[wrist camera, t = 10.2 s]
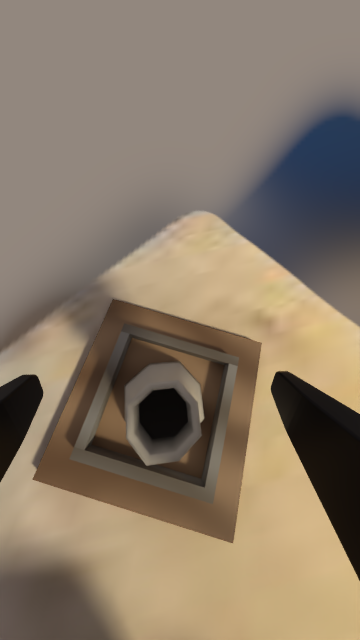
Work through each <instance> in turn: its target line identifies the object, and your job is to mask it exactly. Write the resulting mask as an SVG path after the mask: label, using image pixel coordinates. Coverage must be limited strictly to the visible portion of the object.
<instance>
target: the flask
mask: <svg viewBox="0 0 360 640" xmlns="http://www.w3.org/2000/svg"><path fill="white" fill-rule="evenodd" d="M204 419H205V417H204V409H203V401H202V393H201V384H200V383H199V382H198V381H197V380H196V379H195V378H194V376H193V375H192V374H191V373H190V372H189V371H188V370H187V369H186V368H185V366H184V365H183V364H182V363H181V362H180V361H172V362H161V363H150V364H148V365H147V366H146V367H145V368H144V369H142V370H141V371H140V372H139V373H138V374H137V375H136V376H134V377H133V378H132V379H131V380H130V381H129V382H128V383H126V384H125V385H124V421H125V422H126V439H127V440H128V442H129V443H130V444H131V446H132V447H133V449H134V450H135V451H136V453H137V454H138V455H139V457H140V458H141V459H142V461H143V462H144V463H145V465H146V466H148V465H155V464H162V463H169V462H176V461H180V459H181V458H182V457H183V456H184V455H185V454H186V453H187V452H188V451H189V449H190V448H191V447H192V446H193V445H194V444H195V443H196V442H197V441H198V439H199V438H200V437H201V436H202V434H201V425H200V423H201V422H202V421H203V420H204Z"/></svg>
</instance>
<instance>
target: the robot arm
mask: <svg viewBox="0 0 360 640" xmlns="http://www.w3.org/2000/svg"><path fill="white" fill-rule="evenodd" d="M271 392H272V395H273V398H274V401H275V403H276V406H277V409H278V411H279V414H280V416H281V419H282V422H283V424H284V427H285V429H286V432H287V434H288V436H289V438H290V440H291V442H292V444H293V446H294V448H295V450H296V452H297V454H298V456H299V458H300V460H301V462H302V464H303V466H304V469H305V471H306V473H307V475H308V477H309V479H310V481H311V483H312V485H313V487H314V489H315V491H316V493H317V495H318V497H319V499H320V501H321V503H322V505H323V507H324V509H325V511H326V513H327V515H328V517H329V519H330V521H331V524H332V526H333V528H334V530H335V532H336V534H337V536H338V538H339V540H340V542H341V544H342V546H343V548H344V550H345V552H346V554H347V556H348V558H349V560H350V562H351V564H352V566H353V568H354V570H355V572H356V574H357V576H358V578H359V581H360V414H359V413H357V412H355V411H354V410H352V409H350V408H349V407H347V406H345V405H344V404H342V403H340V402H339V401H337V400H335V399H334V398H332V397H330V396H329V395H327V394H325V393H323V392H322V391H320V390H318V389H317V388H315V387H313V386H312V385H310V384H308V383H307V382H305V381H303V380H302V379H300V378H298V377H297V376H295V375H293V374H291V373H290V372H288V371H278V372H276V374H275V376H274V379H273V382H272V385H271ZM42 397H43V389H42V387H41V384H40V381H39V379H38V377H37V376H36V375H22V376H20V377H18V378H16V379H14V380H12V381H10V382H9V383H7V384H5V385H3V386H1V387H0V482H1V480H2V478H3V477H4V475H5V473H6V471H7V469H8V468H9V466H10V464H11V462H12V460H13V459H14V457H15V455H16V453H17V451H18V450H19V448H20V446H21V444H22V442H23V440H24V438H25V436H26V434H27V432H28V429H29V427H30V425H31V423H32V420H33V418H34V416H35V413H36V411H37V409H38V407H39V404H40V402H41V400H42Z"/></svg>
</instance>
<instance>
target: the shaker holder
mask: <svg viewBox="0 0 360 640" xmlns="http://www.w3.org/2000/svg"><path fill="white" fill-rule="evenodd" d="M261 344H262V343H260V342H257V341H253V340H250V339H246V338H243V337H240V336H236V335H233V334H229V333H226V332H223V331H219V330H216V329H213V328H209V327H206V326H202V325H199V324H196V323H192V322H189V321H185V320H182V319H179V318H175V317H172V316H169V315H165V314H162V313H158V312H155V311H152V310H148V309H145V308H141V307H138V306H135V305H131V304H128V303H124V302H121V301H118V300H114V299H113V301H112V303H111V305H110V307H109V310H108V312H107V314H106V316H105V318H104V321H103V323H102V325H101V327H100V330H99V332H98V334H97V336H96V339H95V341H94V343H93V345H92V348H91V350H90V352H89V354H88V357H87V359H86V361H85V363H84V365H83V368H82V370H81V372H80V374H79V377H78V379H77V381H76V383H75V386H74V388H73V390H72V392H71V395H70V397H69V399H68V401H67V403H66V406H65V408H64V410H63V412H62V415H61V417H60V419H59V421H58V424H57V426H56V428H55V430H54V433H53V435H52V437H51V439H50V442H49V444H48V446H47V448H46V450H45V453H44V455H43V457H42V459H41V462H40V464H39V466H38V468H37V471H36V473H35V475H34V477H33V480H36V481H39V482H42V483H45V484H48V485H51V486H54V487H58V488H61V489H64V490H67V491H70V492H73V493H76V494H80V495H83V496H86V497H89V498H92V499H95V500H98V501H102V502H105V503H108V504H111V505H114V506H117V507H120V508H124V509H127V510H130V511H133V512H136V513H139V514H142V515H146V516H149V517H152V518H155V519H158V520H161V521H164V522H168V523H171V524H174V525H177V526H180V527H183V528H186V529H190V530H193V531H196V532H199V533H202V534H205V535H208V536H212V537H215V538H218V539H221V540H224V541H227V542H230V543H233V540H234V533H235V526H236V519H237V512H238V505H239V498H240V491H241V484H242V477H243V470H244V463H245V456H246V449H247V442H248V435H249V428H250V421H251V414H252V407H253V400H254V393H255V386H256V379H257V372H258V365H259V358H260V351H261ZM172 361H180V362H181V363H182V364H183V365H184V366H185V368H186V369H187V370H188V371H189V372H190V373H191V374H192V375H193V376H194V378H195V379H196V380H197V381H198V382H199V383H200V384H201V393H202V401H203V409H204V417H205V419H204V420H203V421H202V422H201V423H200V425H201V434H202V436H201V437H200V438H199V439H198V441H197V442H196V443H195V444H194V445H193V446H192V447H191V448H190V449H189V451H188V452H187V453H186V454H185V455H184V456H183V457H182V458H181V459H180V461H176V462H169V463H162V464H155V465H148V466H146V465H145V463H144V462H143V461H142V459H141V458H140V457H139V455H138V454H137V453H136V451H135V450H134V449H133V447H132V446H131V444H130V443H129V442H128V440H127V439H126V422H125V421H124V385H125V384H126V383H128V382H129V381H130V380H131V379H132V378H133V377H134V376H136V375H137V374H138V373H139V372H140V371H141V370H142V369H144V368H145V367H146V366H147V365H148V364H150V363H161V362H172Z"/></svg>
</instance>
